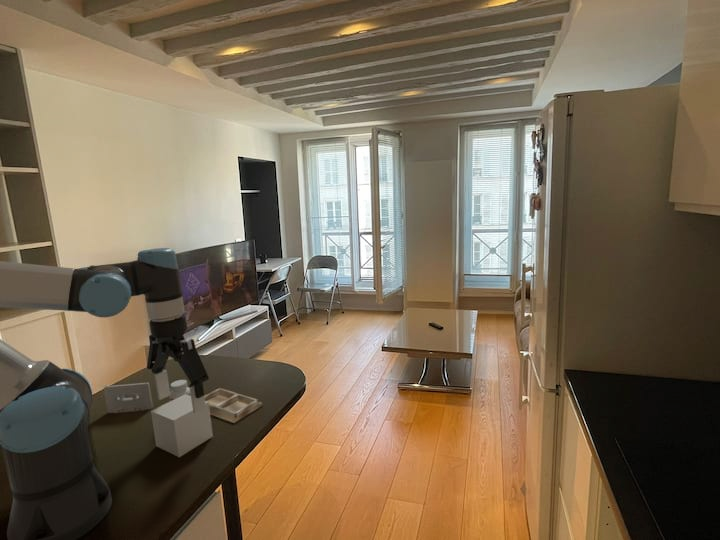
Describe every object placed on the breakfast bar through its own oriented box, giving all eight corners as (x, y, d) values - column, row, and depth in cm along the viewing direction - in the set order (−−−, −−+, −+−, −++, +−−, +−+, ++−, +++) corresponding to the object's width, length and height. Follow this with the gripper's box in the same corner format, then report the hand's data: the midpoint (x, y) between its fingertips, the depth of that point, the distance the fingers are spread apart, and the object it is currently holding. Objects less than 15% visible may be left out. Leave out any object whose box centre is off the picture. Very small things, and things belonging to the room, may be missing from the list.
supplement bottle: (170, 416, 107) (165, 382, 106) (190, 408, 111) (186, 376, 109) (175, 424, 103) (170, 389, 101) (196, 416, 106) (192, 382, 105)
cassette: (154, 406, 113) (150, 381, 112) (151, 410, 111) (147, 384, 110) (110, 410, 112) (105, 385, 111) (106, 414, 110) (102, 388, 109)
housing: (179, 457, 89) (173, 420, 87) (156, 446, 94) (150, 410, 92) (212, 436, 96) (208, 402, 95) (190, 427, 101) (185, 394, 100)
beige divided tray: (234, 423, 102) (233, 416, 101) (193, 408, 111) (192, 401, 111) (262, 405, 110) (262, 398, 110) (222, 392, 119) (221, 386, 119)
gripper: (217, 317, 86) (229, 407, 90) (152, 307, 100) (165, 386, 103) (186, 328, 80) (201, 424, 84) (121, 315, 93) (136, 399, 97)
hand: (181, 403), depth 94 cm, fingers open, 13 cm apart
